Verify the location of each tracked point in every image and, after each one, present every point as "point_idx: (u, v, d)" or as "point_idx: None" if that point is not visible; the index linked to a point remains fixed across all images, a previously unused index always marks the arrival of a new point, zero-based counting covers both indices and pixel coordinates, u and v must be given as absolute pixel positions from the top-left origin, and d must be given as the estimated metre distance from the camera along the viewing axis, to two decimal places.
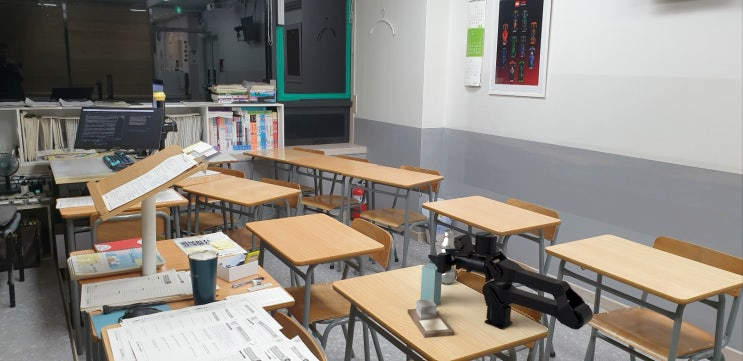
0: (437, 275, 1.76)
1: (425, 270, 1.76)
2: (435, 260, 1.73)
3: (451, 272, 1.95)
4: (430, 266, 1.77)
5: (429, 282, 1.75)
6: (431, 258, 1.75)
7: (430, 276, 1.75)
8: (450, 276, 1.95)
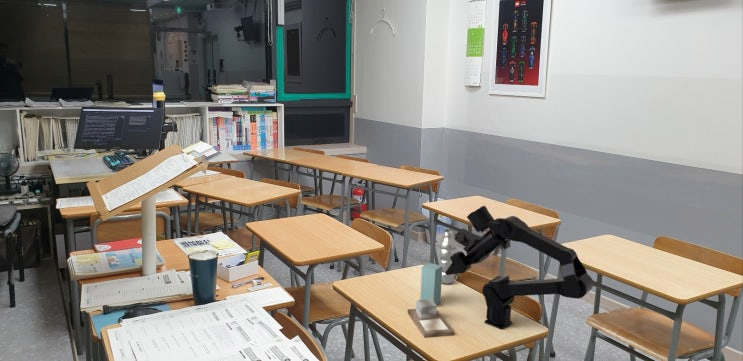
0: (437, 275, 1.76)
1: (425, 270, 1.76)
2: (453, 269, 1.66)
3: None
4: (430, 266, 1.77)
5: (429, 282, 1.75)
6: (449, 272, 1.67)
7: (430, 276, 1.75)
8: (450, 276, 1.95)
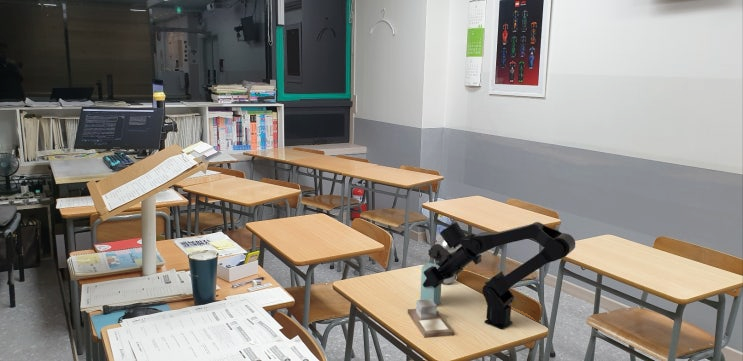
0: None
1: (424, 270, 1.76)
2: (430, 282, 1.74)
3: None
4: (430, 266, 1.77)
5: None
6: (426, 284, 1.75)
7: None
8: None
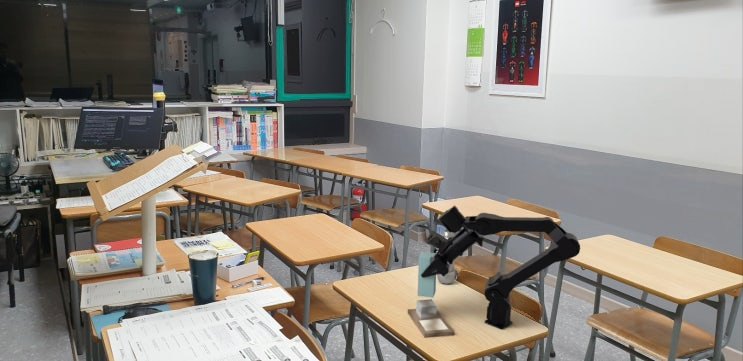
0: None
1: (422, 260, 1.65)
2: (431, 271, 1.64)
3: (451, 272, 1.95)
4: (426, 255, 1.67)
5: None
6: (426, 274, 1.65)
7: None
8: (450, 276, 1.95)
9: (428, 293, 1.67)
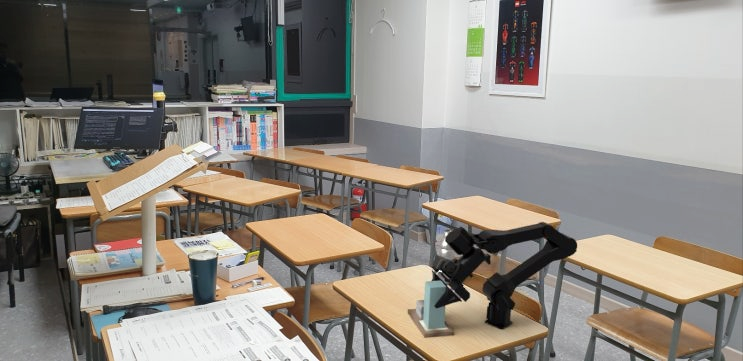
0: None
1: (434, 291, 1.56)
2: (447, 300, 1.54)
3: None
4: (433, 284, 1.58)
5: None
6: (441, 304, 1.54)
7: (440, 295, 1.56)
8: None
9: (439, 323, 1.58)
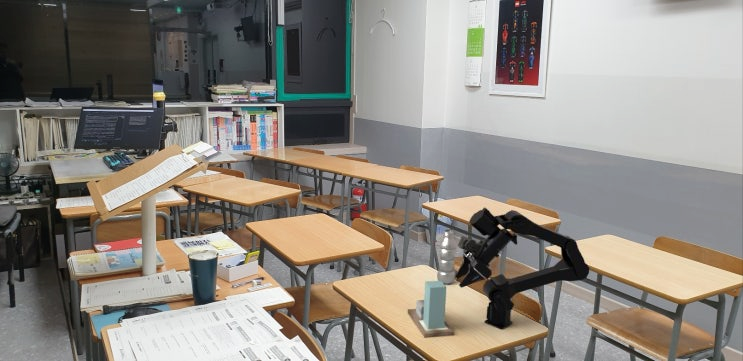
0: None
1: (434, 291, 1.56)
2: (470, 279, 1.56)
3: (451, 272, 1.95)
4: (433, 284, 1.58)
5: (439, 302, 1.57)
6: (465, 283, 1.56)
7: (440, 295, 1.56)
8: (450, 276, 1.95)
9: (439, 323, 1.58)
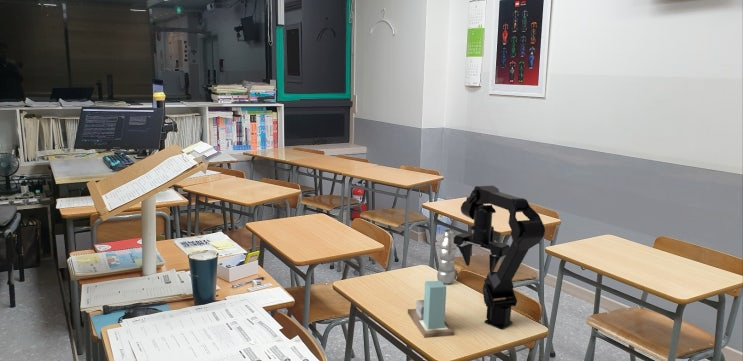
0: None
1: (434, 291, 1.56)
2: None
3: (451, 272, 1.95)
4: (433, 284, 1.58)
5: (439, 302, 1.57)
6: None
7: (440, 295, 1.56)
8: (450, 276, 1.95)
9: (439, 323, 1.58)
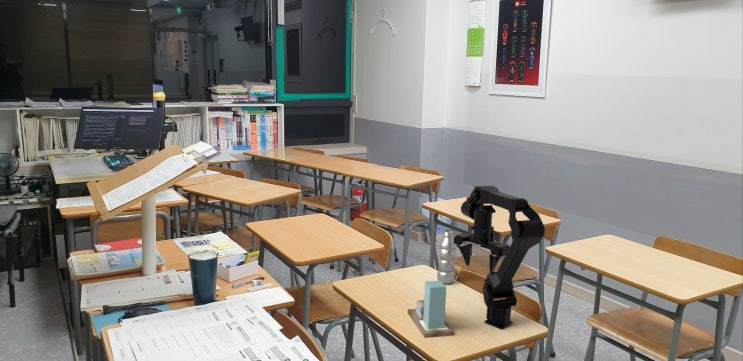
0: None
1: (434, 291, 1.56)
2: None
3: (451, 272, 1.95)
4: (433, 284, 1.58)
5: (439, 302, 1.57)
6: None
7: (440, 295, 1.56)
8: (450, 276, 1.95)
9: (439, 323, 1.58)
